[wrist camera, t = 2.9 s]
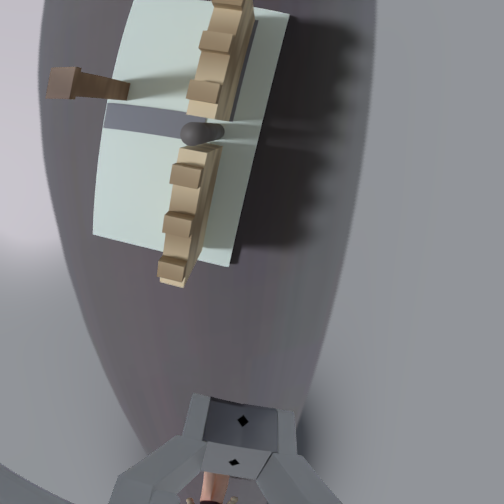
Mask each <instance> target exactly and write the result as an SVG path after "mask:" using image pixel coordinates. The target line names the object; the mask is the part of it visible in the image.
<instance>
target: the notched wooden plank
mask: <svg viewBox="0 0 504 504" xmlns="http://www.w3.org/2000/svg"><path fill="white" fill-rule="evenodd" d="M222 148H223V146H220V145H215V144H210V143H203V144H200V145H196V146H185V147H181V148H179V153H178V158H177V163H175V164H172V170H171V175H170V181H169V184H173V187H172V193H171V199H170V206H169V211H168V212H167V213H166V214H165V215H164V221H163V229H162V233H166V234H165V242H164V250H163V256H162V257H161V258H160V260H159V262H158V271H157V277H160V282H162V283H166V284H170V285H174V286H178V287H182V288H184V286H185V284H186V282H187V280H188V278H189V275H190V273H191V271H192V269H193V267H194V265H195V263H196V261H197V259H198V257H199V255H200V253H201V251H202V248H203V243H204V237H205V232H206V227H207V221H208V216H209V211H210V206H211V201H212V196H213V191H214V186H215V181H216V176H217V172H218V167H219V162H220V158H221V153H222Z"/></svg>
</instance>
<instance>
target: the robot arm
mask: <svg viewBox="0 0 504 504" xmlns="http://www.w3.org/2000/svg"><path fill="white" fill-rule="evenodd" d="M200 471H205V472H210V473H216V474H223V475H229V476H235V477H241V478H247V479H254V480H256V482H257V484H258V486H259V488H260V489H261V491H262V493H263V495H264V496H265V498H266V500H267V501H268V503H269V504H342V502H341V501H340V500H339V499H338V498H337V497H336V496H335V494H334V493H333V492H332V491H331V490H330V489H329V488H328V487H327V485H326V484H325V483H324V482H323V480H322V479H321V478H320V477H319V476H318V474H317V473H316V472H315V471H314V470H313V468H312V467H311V466H310V465H309V464H308V462H307V461H306V460H305V459H304V457H303V456H301V455H297V445H296V429H295V415H294V412H293V411H287V410H280V409H275V408H268V407H261V406H255V405H248V404H240V403H236V402H231V401H227V400H222V399H218V398H214V397H211V398H210V397H209V396H205V395H201V394H197V393H193V395H192V398H191V402H190V406H189V410H188V414H187V418H186V422H185V425H184V429H183V433H182V436H179V435H176V436H175V437H173V438H172V439H171V440H169V441H168V442H166V443H165V444H164V445H162V446H161V447H160V448H158V449H157V450H155V451H154V452H153V453H151V454H150V455H148V456H147V457H145V458H144V459H143V460H141V461H140V462H138V463H137V464H135V465H134V466H132V467H131V468H129V469H128V470H127V471H125V472H123V473H122V474H120V475H119V476H118V478H117V481H116V484H115V486H114V489H113V492H112V495H111V498H110V501H109V503H108V504H180V498H179V497H178V496H177V495H176V494H177V493H178V492H179V491H180V490H181V489H183V488H184V487H185V486H186V485H187V484H188V483H189V482H190V481H191V480H192V479H193V478H194V477H195V476H196V475H198V474H199V473H200ZM0 504H74V503H71V502H69V501H67V500H65V499H63V498H61V497H59V496H57V495H55V494H53V493H51V492H49V491H47V490H45V489H43V488H41V487H39V486H37V485H36V484H34V483H32V482H30V481H29V480H27V479H25V478H23V477H22V476H20V475H18V474H17V473H15V472H13V471H12V470H10V469H9V468H7V467H5V466H4V465H2V464H1V463H0Z"/></svg>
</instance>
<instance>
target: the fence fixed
mask: <svg viewBox="0 0 504 504" xmlns="http://www.w3.org/2000/svg"><path fill="white" fill-rule="evenodd" d="M212 4H213V6H214V9H213V13H212V16H211V19H210V23H209V26H208V30H207V31H204V30H203V32H202V36H201V40H200V43H199V47H198V48H199V49H200V50H201V55H200V59H199V63H198V67H197V71H196V75H195V79H194V80H191V79H190V82H189V86H188V91H187V95H186V99H189V104H188V109H187V113H186V114H187V115H193V116H199V117H204V118H210V119H216V120H223V121H229V120H230V115H231V111H232V107H233V103H234V99H235V95H236V90H237V86H238V82H239V78H240V74H241V70H242V67H243V63H244V59H245V55H246V51H247V47H248V44H249V40H250V36H251V33H252V29H253V25H254V22H255V16H254V8H253V0H212ZM224 133H225V130H224V127H223V126H222V125H221V124H218V123H203V122H189V123H187V124H185V125H184V126H183V127H182V129H181V132H180V137H181V140H182V142H183V143H184V144H186V145H188V146H196V145H200V144H203V143H207V142H211V141H214V140H218V139H221V138H222V137H223V136H224Z"/></svg>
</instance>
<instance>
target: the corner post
mask: <svg viewBox="0 0 504 504" xmlns="http://www.w3.org/2000/svg"><path fill="white" fill-rule="evenodd" d="M129 87H130V83H128V82H124V81H120V80H115V79H111V78H107V77H102V76H98V75H93V74H88V73H83V72H81V68H79V67H55V68H51V72H50V77H49V82H48V87H47V92H46V98H45V99H75V97H76V96H77V97H91V98H102V99H113V100H124V101H127V97H128V92H129Z"/></svg>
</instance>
